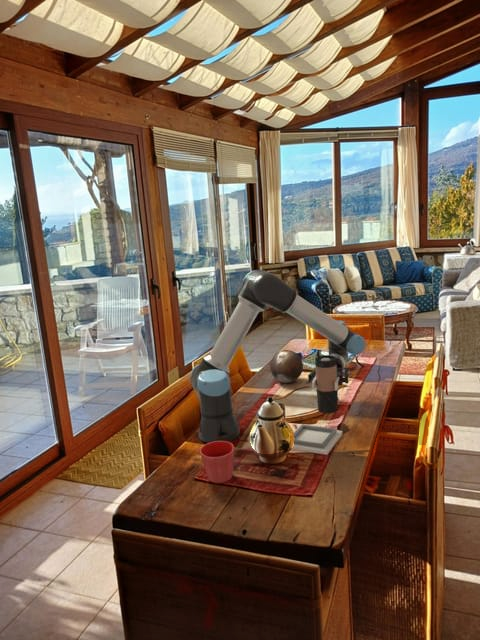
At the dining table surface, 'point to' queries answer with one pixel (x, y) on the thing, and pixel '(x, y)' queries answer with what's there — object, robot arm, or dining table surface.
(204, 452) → the flower pot
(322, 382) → the travel mug
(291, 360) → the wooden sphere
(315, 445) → the mug stand
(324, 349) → the dining table surface
